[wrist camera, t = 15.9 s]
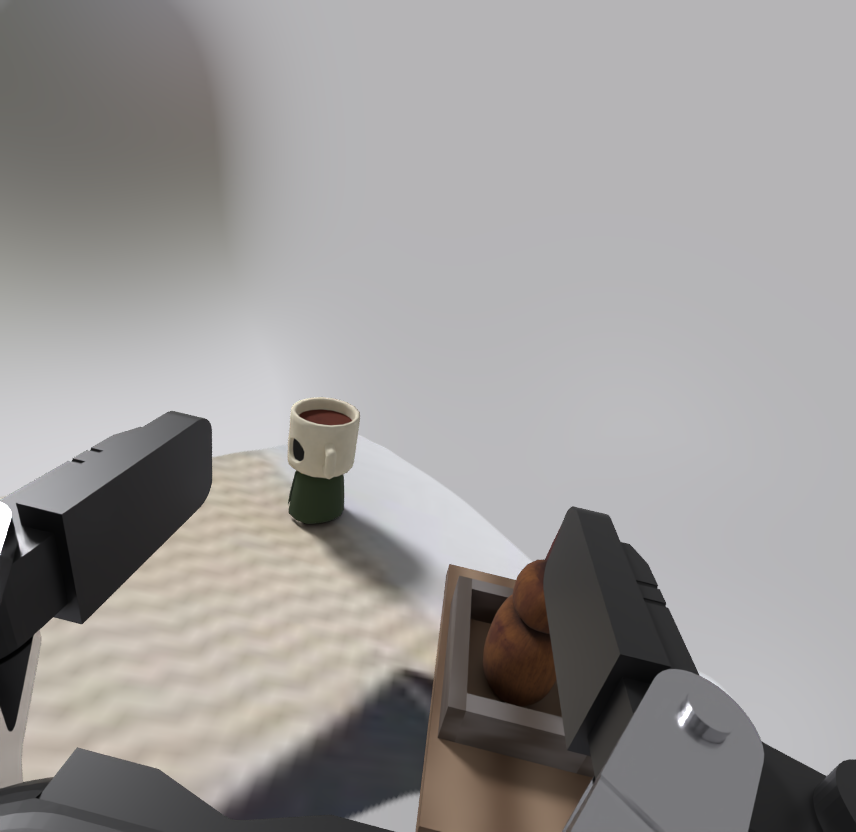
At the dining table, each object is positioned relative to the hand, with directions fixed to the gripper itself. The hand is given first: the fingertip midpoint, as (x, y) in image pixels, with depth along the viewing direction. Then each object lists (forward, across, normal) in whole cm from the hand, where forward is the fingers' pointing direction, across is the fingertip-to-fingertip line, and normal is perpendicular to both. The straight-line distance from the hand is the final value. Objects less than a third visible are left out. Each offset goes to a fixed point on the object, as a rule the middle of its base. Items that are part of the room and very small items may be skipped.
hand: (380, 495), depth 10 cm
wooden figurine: (+17, -11, +27) cm, 33 cm away
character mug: (+33, +11, +28) cm, 45 cm away
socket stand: (+17, -11, +28) cm, 35 cm away
